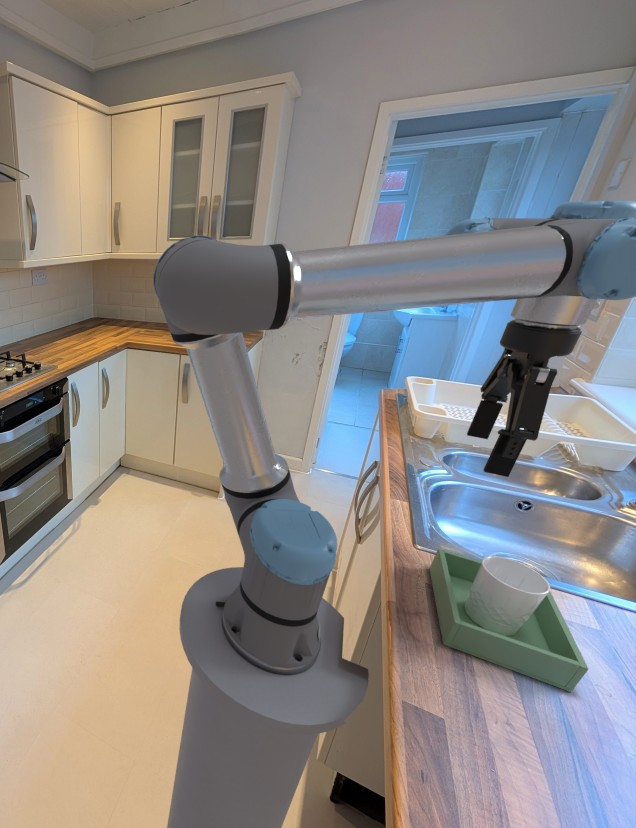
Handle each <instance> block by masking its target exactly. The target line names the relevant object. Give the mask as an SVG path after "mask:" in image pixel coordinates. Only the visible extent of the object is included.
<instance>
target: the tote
mask: <svg viewBox="0 0 636 828" xmlns="http://www.w3.org/2000/svg"><path fill="white" fill-rule="evenodd" d="M481 563H482V560H480V559H476V558H472V557H469V556H466V555H463V554H459V553H456V552H452V551H448V550H445V549H442V548H437V551H436V553H435V555H434V557H433V559H432V562H431V563H430V566H429V569H428V570H429V574H430V580H431V585H432V586H431V587H432V589H433V596H434V602H435V608H436V611H437V612H436V613H437V618H438V623H439V630H440V635H441V640H442V644H443V646H446V647H449V648H452V649H454V650H457V651H460V652H462V653H465V654H468V655H470V656H473V657H476V658H478V659H481V660H484V661H487V662H489V663H492V664H495V665H497V666H499V667H503V668H505V669H508V670H511V671H513V672H516V673H517V674H521V675H524V676H527V677H529V678H532V679H534V680H538V681H540V682H543V683H545V684H548V685H550V686H553V687H555V688H559V689H561V690H564V691H567V692H569V693H572V692H573V690H574V689H575V688H576V687H577V685H578V684H579V682H580V681H581V680H582V678H583V677H584V676H585V675H586V673H587V672H588V671H589V667H588V665H587V662H586V660H585V659H584V656H583V655H582V652H581V650H580V649H579V647H578V644H577V642H576V640H575V638H574V636H573V634H572V633H571V632H572V631H571V630H570V628H569V626H568V624H567V623H566V622H567V621H566V620H565V618H564V616H563V614H562V612H561V610H560V608H559V606H558V605H557V602H556V600H555V598H554V595H553V594H552V591H551V590H550V591H549V593H548V594H547V595H546V596H545V598H544V599H543V600H542V602H541V603H540V605H539V606H538V607H537V609H536V610H535V611H534V613H533V614H532V615H531V617H530V618H529V619H528V620H527V621H526V622H525V623H524V624H523V625H522V626H521V627H520V628H519V630H518V631H517V633H516V634H515V635H510V636H504V635H500V634H497V633H494V632H491V631H489V630H486V629H484V628H482V627H481V626H479V625H478V624H477V623H475V622H474V621H472V619H471V618H470V617H469V616H468V615H467V614H466V611H465V607H464V605H465V603H466V601H467V599H468V596H469V592H470V589H471V587H472V584H473V581H474V579H475V577H476V574H477V572H478V570H479V567H480V565H481Z"/></svg>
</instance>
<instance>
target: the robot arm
mask: <svg viewBox="0 0 636 828" xmlns="http://www.w3.org/2000/svg"><path fill="white" fill-rule="evenodd" d="M152 281H153V288H154V292H155V294H156V296H157V298H158V300H159V305H160V307H161V309H162V312H163V315H164V318H165V321H166V324H167V327H168V331H169V333H170V335H171V339H172V341H173V343H174V344H176V345H179V346H181V347H184V348H185V349H186V352H187V355H188V358H189V362H190V364H191V367H192V371H193V374H194V377H195V379H196V383H197V386H198V389H199V392H200V395H201V398H202V401H203V405H204V407H205V410H206V413H207V416H208V420H209V423H210V426H211V429H212V432H213V435H214V438H215V441H216V444H217V447H218V450H219V453H220V456H221V459H222V462H223V466H222V467H221V469H220V471H219V476H218V477H219V480H220V484H221V487H222V490H223V496H224V499H225V502H226V504H227V507H228V508H229V511H230V514H231V517H232V521H233V523H234V527H235V530H236V533H237V535H238V538H239V541H240V544H241V547H242V550H243V554H244V561H243V566H242V567H243V571H242V576H241V582H240V584H239V585H238V587H237V588H236V589H235V590H234V592H233V593H232V594H231V595H230V597H229V598H228V599H227V601H226V602H218V601H217V602H216V606H218V607H224V608H223V613H222V628H223V631H224V634H225V636H226V638H227V640H228V642H229V643H230V645H231V646H232V647H233V649H234V650H235V651H236V652H237V653H238V654H239V655H240V656H241V657H242V658H244V659H245V660H246V661H248V662H249V663H250V664H252V665H254V666H256V667H257V668H259V669H262V670H264V671H267V672H270V673H273V674H278V675H296V674H300V673H303V672H305V671H307V670H308V669H310V668H311V667H312V666H313V665H314V663H315V662H316V660H317V657H318V654H319V651H320V647H321V638H320V630H321V629H320V622H319V625H318V619H317V612H318V609H319V606H320V603H321V600H322V598H324V597H323V596H324V594H325V591H326V588H327V584H328V581H329V578H330V576H331V572H332V571H333V570H334V568H335V564H336V558H337V550H338V538H337V534H336V532H335V529H334V527H333V525H332V524H331V522H330V521H329V520H328V519H327V518H326V517H325V516H324V515H323V514H322V513H320V512H319V510H312V508H311V506H309V505H307V504H305V503H303V502H302V501H300V499H299V497H298V495H297V493H296V489H295V486H294V483H293V479H292V474H291V471H290V468H289V464H288V462H287V460H286V458H284V457H283V456H282V455H280V454H278V453H276V452H275V448H274V445H273V441H272V438H271V437H272V436H271V433H270V430H269V426H268V423H267V419H266V415H265V412H264V408H263V405H262V401H261V396H260V394H259V390H258V386H257V383H256V378H255V375H254V371H253V367H252V363H251V360H250V356H249V352H248V348H247V345H246V342H245V337H244V334H243V333H250V332H260V331H271V330H281V329H283V328H284V327H285V326H286V325H287V324H288V323H289V322H290V321H291V320H295V319H298V320H299V319H309V318H319V317H321V318H322V317H332V316H343V315H353V314H354V315H355V314H364V313H375V312H388V311H397V310H410V309H420V308H421V309H422V308H433V307H444V306H445V307H446V306H454V305H455V306H456V305H465V304H476V303H487V302H488V303H489V302H500V301H501V302H502V301H511V300H516V301H515V303H514V306H513V308H512V310H511V313H510V316H511V317H512V320H510V321H508V322H507V324H506V326H505V329H504V330H503V333H502V335H501V338H500V340H499V345H500V346H501V347H503V348H504V350H503V352H502V354H501V356H500V357H499V359H498V361H497V362H496V363H495V366H493V368H492V370H491V372H490V373H489V374H488V376H487V377H486V380H485V381H484V383H483V384H482V385H481V387H480V393H482V394H481V395H480V396H481V399H480V401H479V404H478V406H477V409H476V411H475V414H474V416H473V418H472V421H471V422H470V425H469V428H468V429H467V432H466V435H467V437H468V436H469V437H473V438H479V439H484V440H489V438H490V436H491V432H492V431H493V429H494V426H495V424H496V422H497V420H498V417H499V415H500V413H501V411H502V408H503V407H504V404H503V403H508V399H509V404H508V411H507V416H506V422H505V428H501V429H499V430H498V431H497V435H498V437H497V440H496V441H495V443H494V445H493V447H492V450H491V452H490V455H489V457H488V459H487V461H486V463H485V465H484V466H483V469H482V470H483V472H484V473H486V474H491V475H495V476H502V477H506V478H509V476H510V475H511V472H512V471H513V468H514V466H515V465H516V463H517V460H518V459H519V456H520V454H521V452H522V450H523V448H524V446H525V444H526V442H527V440H529V441H532V442H533V441H536V440H537V439H538V438H539V433H540V429H541V425H542V423H543V418H544V414H545V411H546V407H547V404H548V400H549V396H550V392H551V389H552V385H553V383H554V382H555V381H554V380H555V379H556V376H557V375H558V369H557V368H550V367H548V366H549V360H550V359H551V358H554V357H566V356H570V354H572V353H573V351H574V349H575V347H576V345H577V343H578V341H579V340H580V337H581V335H582V333H583V331H582V330H581V328H580V326H584V325H586V324H587V321H588V320H589V318H590V316H591V314H592V311H593V309H594V310H595V309H599V308H600V306H601V305H602V304H601V302H600V301H598V300H607V301H624V300H629V299H633V298H636V201H635V200H581V201H580V200H579V201H578V200H576V201H564V202H562V203H560V204H559V205H558V206H556V208H555V210H554V212H553V213H552V214H551V216H550V217H547V218H538V217H537V218H534V217H531V218H529V217H527V218H526V217H525V218H521V217H519V218H517V217H515V218H513V217H504V218H503V217H487V216H485V217H483V218H469V219H463V220H461V221H460V222H457V223H455V224H454V225H453V226H452V227H451V228H450V229H449V230H448V231H447V232H446V233H445V235H440V236H439V235H438V236H430V237H429V236H428V237H421V238H420V237H419V238H411V239H410V238H409V239H401V240H393V241H392V240H391V241H382V242H373V243H363V244H354V245H343V246H334V247H326V248H325V247H324V248H315V249H307V250H306V249H305V250H298V251H297V250H296V251H293V250H292V249H290V247H288V246H287V245H286V244H285V243H274V244H273V243H272V244H266V245H264V244H263V245H262V244H261V245H248V244H236V243H231V242H224V241H221V240H217V239H215V238H214V237H211V236H208V235H200V234H199V235H198V234H197V235H190V236H188V237H184V238H181V239H179V240H177V241H176V242H174V243H172V244H171V245H170V246H169V247H168V248H166V249H165V250H164V252H163V253H162V254H161V256H159V259H158V260H157V262H156V265H155V268H154V272H153V279H152ZM509 394H510V398H508V397H509V396H508V395H509Z"/></svg>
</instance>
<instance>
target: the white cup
mask: <svg viewBox="0 0 636 828" xmlns="http://www.w3.org/2000/svg"><path fill="white" fill-rule="evenodd" d="M481 561H482V563H481V565H480V567H479V570H478V572H477V574H476V577H475V579H474V581H473V584H472V587H471V589H470V592H469V596H468V599H467V601H466V603H465V605H464V607H465V611H466V614H467V615H468V616H469V617H470V618H471V619H472V621H474V622H475V623H477V624H478V625H479V626H481V627H482V628H484V629H486V630H489V631H491V632H494V633H497V634H500V635H504V636H510V635H515V634H516V633H517V631H518V630H519V628H520V627H521V626H522V625H523V624H524V623H525V622H526V621H527V620H528V619H529V618H530V617H531V615H532V614H533V613H534V611H535V610H536V609H537V607H538V606H539V605H540V603H541V602H542V600H543V599H544V598H545V596H546V595H547V594H548V593H549V591H550V592H551V585H550V582H549V581H548V580H547V579H546V578H545V577H544V576H543V575H542V574H541V573H539V572H538V571H537V570H536V569H533V568H532V567H531V566H528V565H526V564H524V563H522V562H519V561H518V560H515V559H512V558H509V557H504V556H499V555H489V556H486V557H484V558H483V559H482V560H481Z"/></svg>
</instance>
